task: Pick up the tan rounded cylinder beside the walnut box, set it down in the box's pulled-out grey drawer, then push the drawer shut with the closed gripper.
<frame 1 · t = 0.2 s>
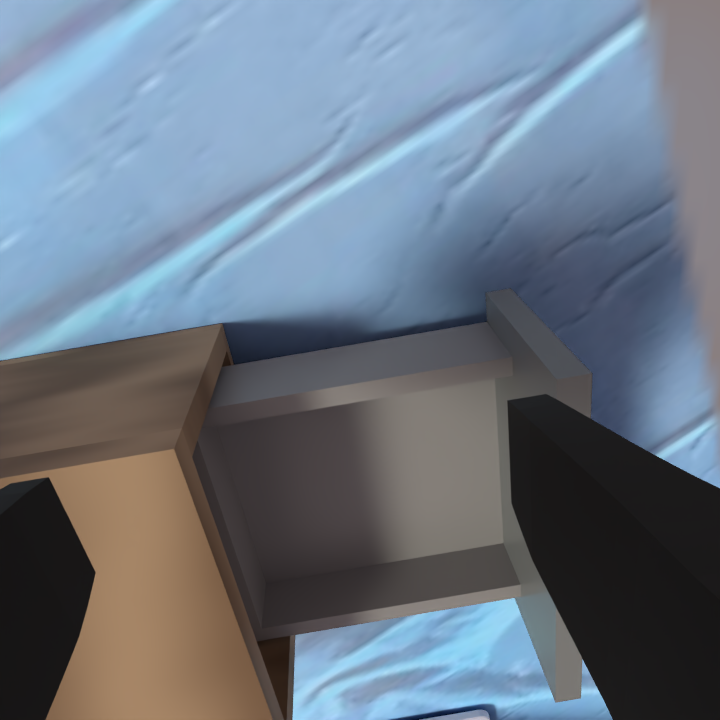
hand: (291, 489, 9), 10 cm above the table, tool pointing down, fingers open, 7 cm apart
housing: (117, 496, 21), on the table
grey drawer: (378, 521, 18), point 4 cm above the table, slide at 8.0 cm
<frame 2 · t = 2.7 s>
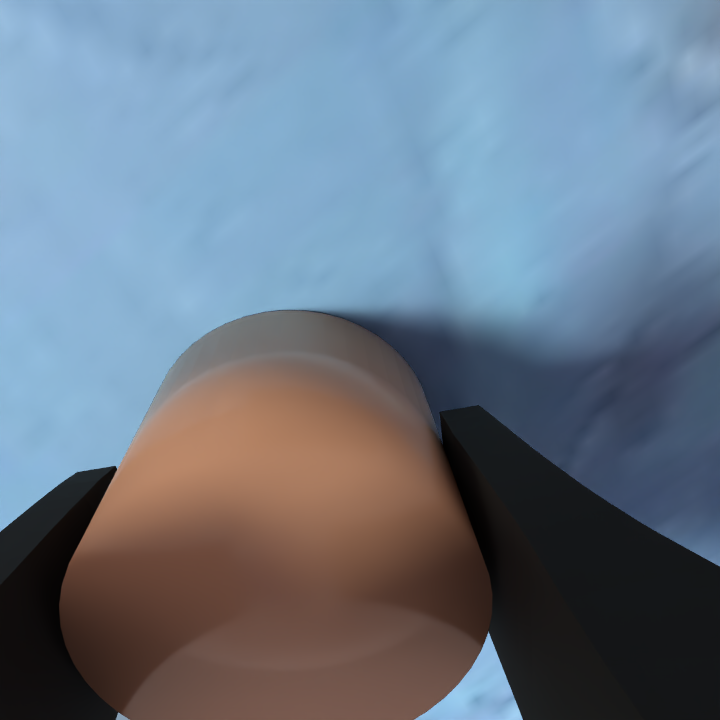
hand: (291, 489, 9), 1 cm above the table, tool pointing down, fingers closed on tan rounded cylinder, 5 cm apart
tan rounded cylinder: (294, 439, 10), on the table, touching gripper
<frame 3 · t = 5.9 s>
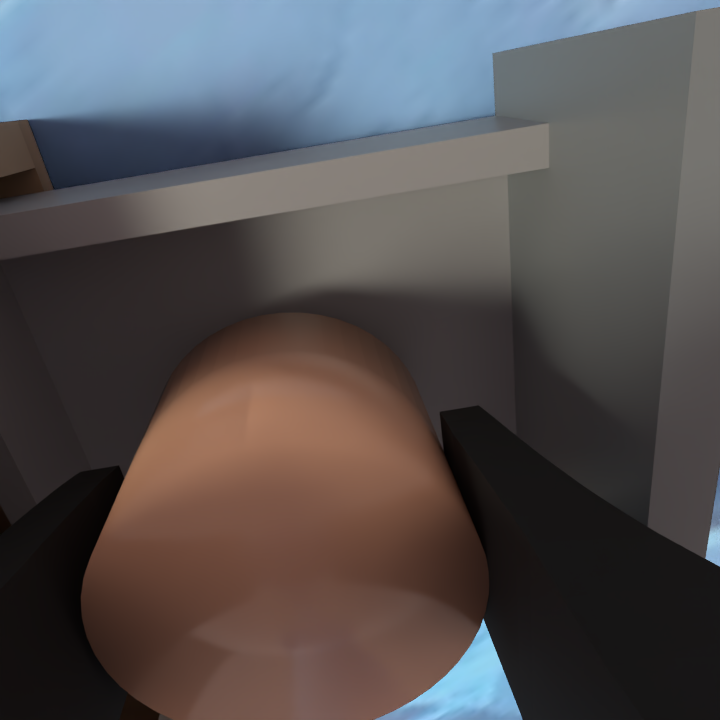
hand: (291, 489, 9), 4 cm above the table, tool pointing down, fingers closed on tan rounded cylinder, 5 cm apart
tan rounded cylinder: (293, 436, 11), point 3 cm above the table, touching gripper
grey drawer: (297, 467, 10), point 4 cm above the table, slide at 8.0 cm
when the fingers open (4 cm above the table, at t = 7.5 s): tan rounded cylinder stays where it is, resting on grey drawer.
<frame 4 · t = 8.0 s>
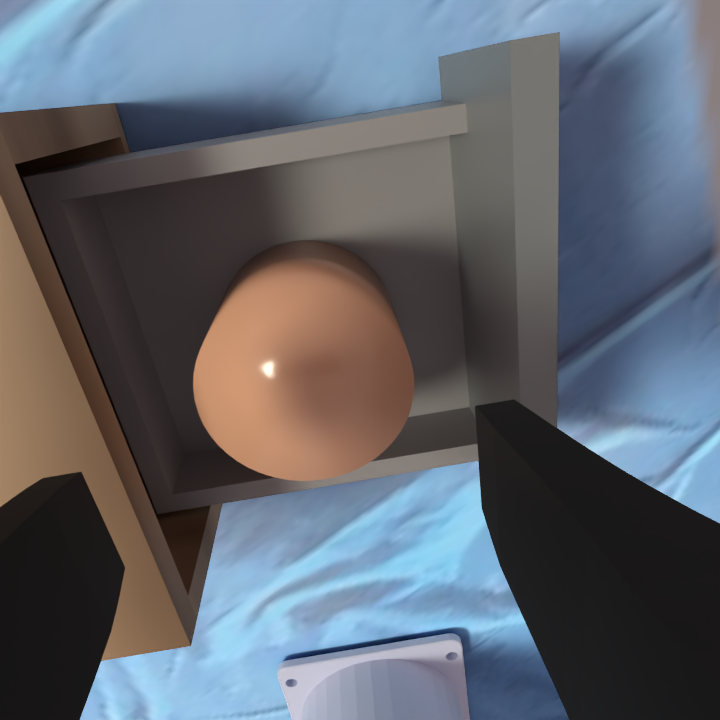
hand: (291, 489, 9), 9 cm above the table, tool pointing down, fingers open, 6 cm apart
housing: (4, 344, 17), on the table
tan rounded cylinder: (308, 325, 16), point 1 cm above the table, touching grey drawer
grey drawer: (304, 341, 14), point 4 cm above the table, slide at 8.0 cm, touching tan rounded cylinder
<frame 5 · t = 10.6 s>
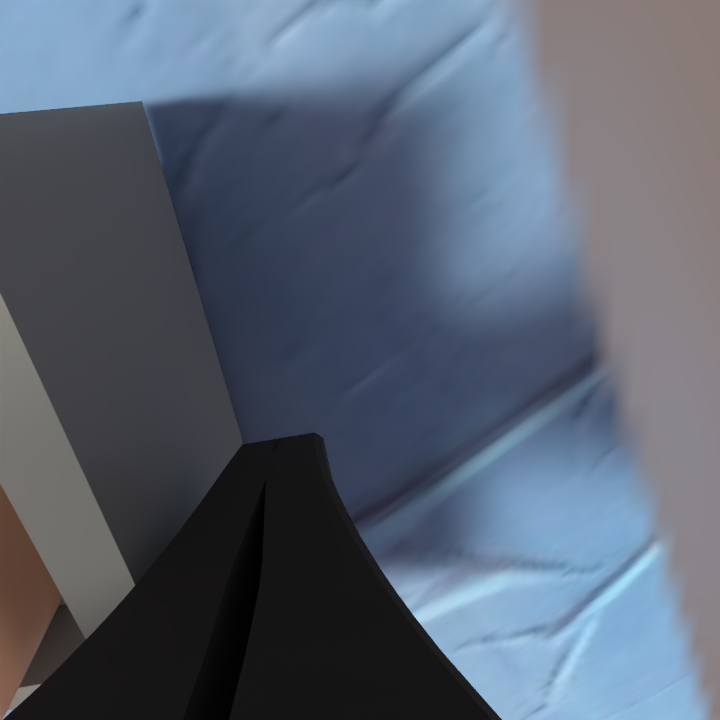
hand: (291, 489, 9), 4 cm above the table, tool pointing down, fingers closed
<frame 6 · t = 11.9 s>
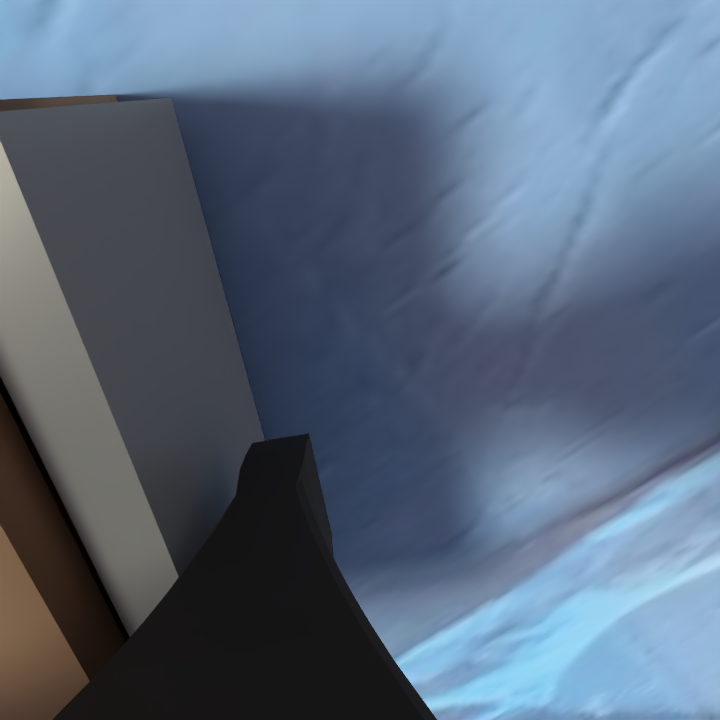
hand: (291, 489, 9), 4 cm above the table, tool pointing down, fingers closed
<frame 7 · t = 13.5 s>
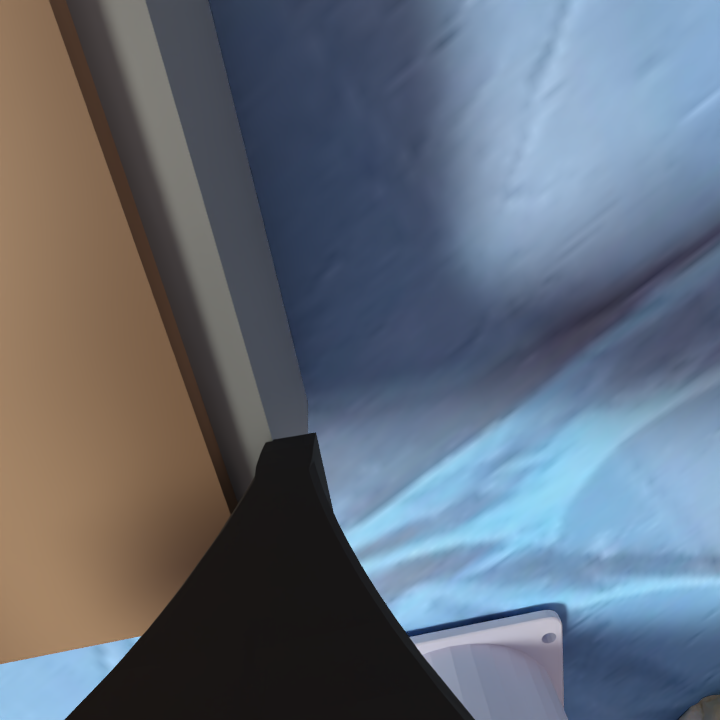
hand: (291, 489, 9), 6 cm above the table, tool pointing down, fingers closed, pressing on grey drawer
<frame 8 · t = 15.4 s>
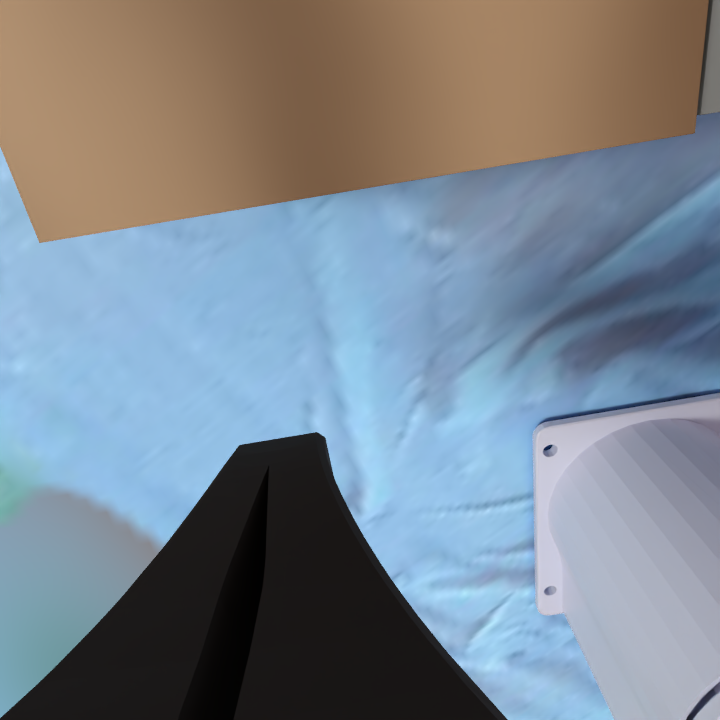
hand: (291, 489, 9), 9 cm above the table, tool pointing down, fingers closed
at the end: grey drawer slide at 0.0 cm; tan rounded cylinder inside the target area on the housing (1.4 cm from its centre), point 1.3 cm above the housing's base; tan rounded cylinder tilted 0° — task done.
